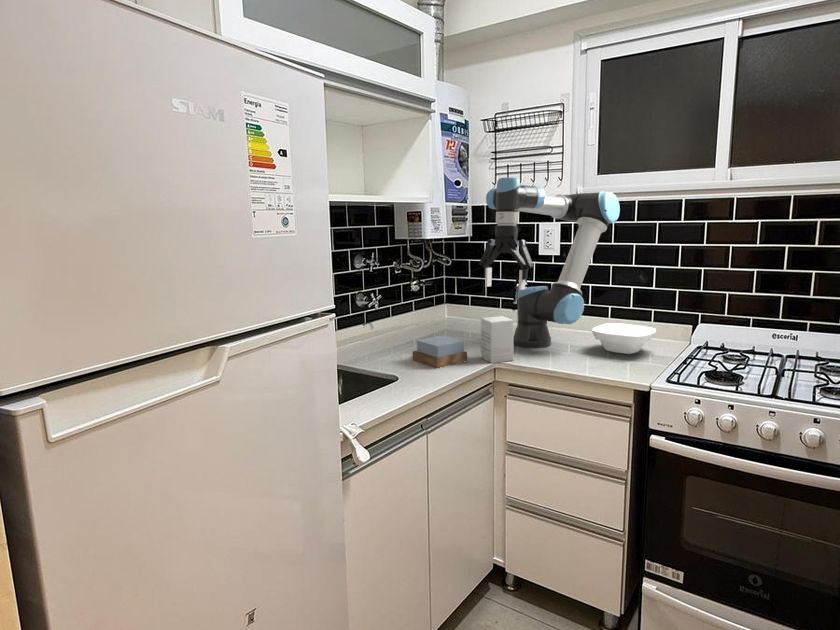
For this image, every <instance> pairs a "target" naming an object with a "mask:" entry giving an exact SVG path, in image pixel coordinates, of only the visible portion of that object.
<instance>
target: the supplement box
mask: <svg viewBox="0 0 840 630" xmlns="http://www.w3.org/2000/svg"><path fill="white" fill-rule="evenodd" d="M513 336H514V320H513V319H511V318H509V317H506V316H503V315H500V316H491V317H490V316H489V317H480V341H481V342H480V349H481V353H480V354H481V355H480V356H481V359H483V360H485V361H487V362H489V363H491V364H494V363H495V364H497V363H503V362H504V361H505V362H511V361H510V360H513V361H515V360H514V344H513Z"/></svg>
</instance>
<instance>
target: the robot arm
mask: <svg viewBox="0 0 840 630" xmlns="http://www.w3.org/2000/svg"><path fill="white" fill-rule="evenodd" d="M520 181H521V180H520V179H519V178H518V177H513V176H511V177H507V176H506V177H501V178H498V179H497V183H496V188H492V189H490V190H488V191H487V193H486V197H485V203H486V205H487V207H488V208H489V209H492V210H495V224H496V226H495V229H494V230H495V231H494V232H495V238H494V239H493V238H489V239H487V242H486V247H485V248H484V251H483V253H482V256H481V258H480V260H479V263H478V265H479V266H481V267H483V277H484V278H485V279H484V281H485V282H484V287H492V281H493V280H492V279H493V277H492V275H493V273H492V272H493V267H491V265H492V264H493V263H494V262H495V260H497V258H498V256H500V254H511V256H513V258H514V260H515V261H516V262H517V264H518V266H519V267H520V269H519V273H518V274H519V275H518V276H519V277H518V278H519V279H518V291H517V298H516V301H517V304H516V305H517V306H516V308H517V314H516V315H517V316H516V317H517V324H516V327H515V331H514V333H513V346H516V347H522V348H529V349H530V348H531V349H536V348H537V349H539V348H545V347H549V346H551V345H552V337H551V334H550V330H549V326H548V322H550V323H551V322H552V323H556V324H561V325H572V324H574V323H576V322H578V320H580V318H581V316H582V315H583V312H584V310H585V301H584V298H583V297H582V296H583V291H582V290H581V286H582V284H583V282H584V278H585V276H586V274H587V271H588V269H589V266H590V263H591V261H592V258H593V255H594V253H595V250H596V248H597V244H598V242H599V240H600V237H601V235H602V233H605V232H606V231H607V229H608V226H609V224H613V223H615V222H616V221H617V220H618V219H619V217H620V213H621V212H620V211H621V208H620V202H619V200H618V197H617V195H615V194H614V193H613V192H611V191H600V192H598V191H597V192H583V193H582V192H579V193H572V194H561V193H559V194H556V195H550V194H546V192H545V190H544V188H543V187H540V186H537V185H526V184H525V185H524V184H523V185H521V182H520ZM519 212H523V213H531V214H537V215H538V214H539V215H544V216H551V218H553V219H555V220H561V221H565V222H566V221H567V222H571V223H577V225H578V228H577V231H576V232H575V236H574V239H573V241H572V243H571V246H570V249H569V252H568V255H567V257H566V260H565V262H564V264H563V268H562V269H561V272H560V275H559V278H558V280H557V281H555V282H554V283H552V285H551V286H550V287H551V288H550V290H549V288H548V286H547V285H539V286H538V285H537V286H528V287H526V280H528V275H529V274H528V273H529V270H530V269H533V268H534V263H533V261H532V258H531V256H530V255H531V254H530V253H529V250H528V247H527V244H526V243H527V241H526V240H525V239H519V240H518V237H519V227H518V225H519ZM494 246H495V248H494ZM517 246H518V247H519V250H518V248H517ZM520 253H521V254H520Z"/></svg>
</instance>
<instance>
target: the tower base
mask: <svg viewBox="0 0 840 630" xmlns="http://www.w3.org/2000/svg"><path fill="white" fill-rule="evenodd" d="M411 357H412V361H413V362H416V363H418V364H421V365H425V366H427V365H428V366H427V367H430V366H431V367H430V368H433V367H434V368H433V369H436V368H438V369H441V368H440V367H442V368H445V366H446V367H450V366H454V365H458V364H457V363H459V364H461V363H460V362H463V363H465V362H464V361H467V362H468V352H467V351H465V350H464V352H462V353H457V354H452V355H448V356H443V357H439V358H437V357H434V356H431V355H427V354H424V353H421V352H418V351H417V349H416V350H412V356H411ZM453 364H454V365H453ZM449 365H450V366H449Z"/></svg>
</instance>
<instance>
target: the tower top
mask: <svg viewBox="0 0 840 630" xmlns="http://www.w3.org/2000/svg"><path fill="white" fill-rule="evenodd" d="M416 350H417V351H418V352H421V353H424V354H427V355H431V356H434V357H437V358H439V357H443V356H448V355H452V354H457V353H462V352H464V351H465V341H464V340H461V339H457V338H453V337H449V336H446V335H439V336H433V337H427V338H424V339H423V338H422V339H418V340H416Z"/></svg>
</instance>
